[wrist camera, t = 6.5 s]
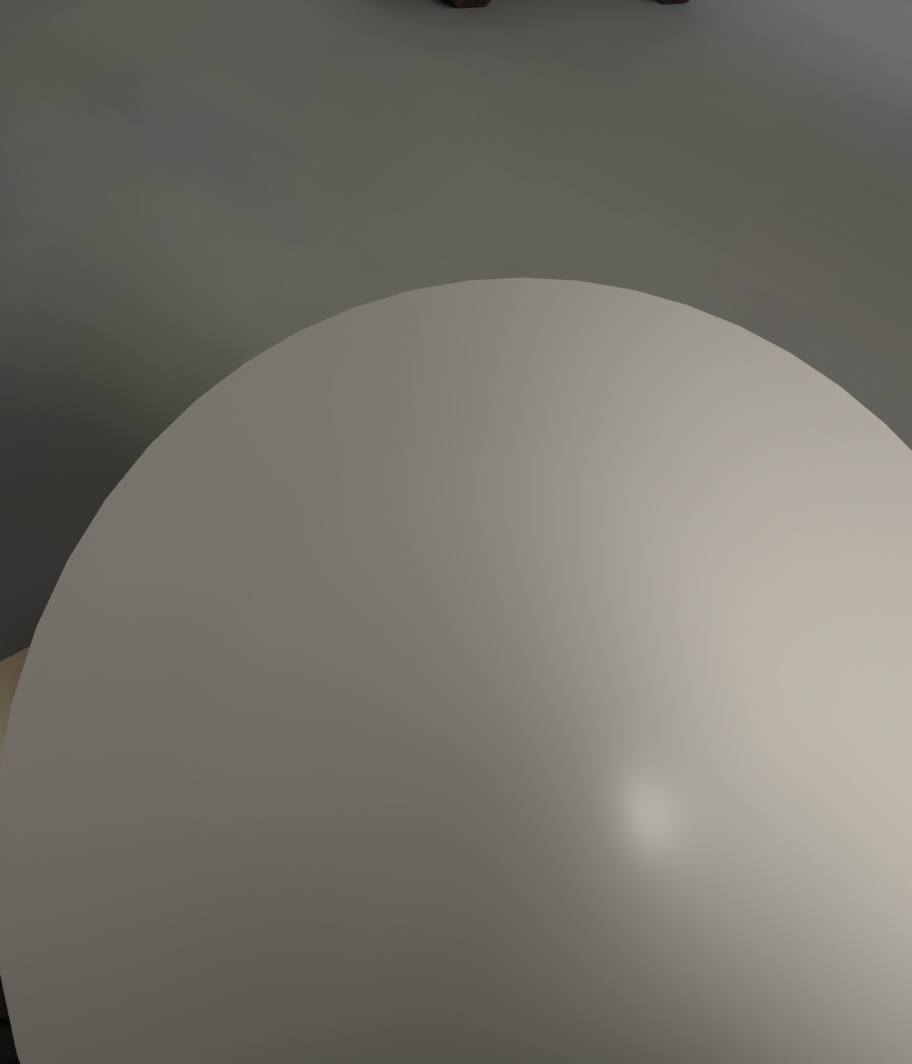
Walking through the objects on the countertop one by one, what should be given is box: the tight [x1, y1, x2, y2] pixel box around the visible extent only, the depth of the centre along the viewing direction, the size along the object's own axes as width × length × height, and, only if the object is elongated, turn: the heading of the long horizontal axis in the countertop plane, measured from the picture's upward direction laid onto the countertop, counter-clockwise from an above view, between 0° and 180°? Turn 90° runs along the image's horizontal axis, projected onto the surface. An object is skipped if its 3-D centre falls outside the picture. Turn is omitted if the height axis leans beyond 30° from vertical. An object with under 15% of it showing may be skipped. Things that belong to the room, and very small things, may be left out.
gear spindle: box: [0, 278, 912, 1064], centre depth 9 cm, size 8×8×12 cm
